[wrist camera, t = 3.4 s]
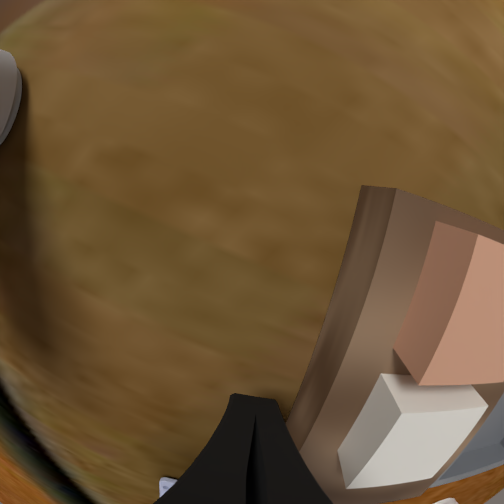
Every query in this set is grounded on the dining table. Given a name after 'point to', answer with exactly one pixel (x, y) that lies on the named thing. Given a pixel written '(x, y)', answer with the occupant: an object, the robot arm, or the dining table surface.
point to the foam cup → (447, 501)
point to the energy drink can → (8, 92)
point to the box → (479, 449)
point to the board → (371, 334)
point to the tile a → (407, 431)
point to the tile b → (456, 312)
